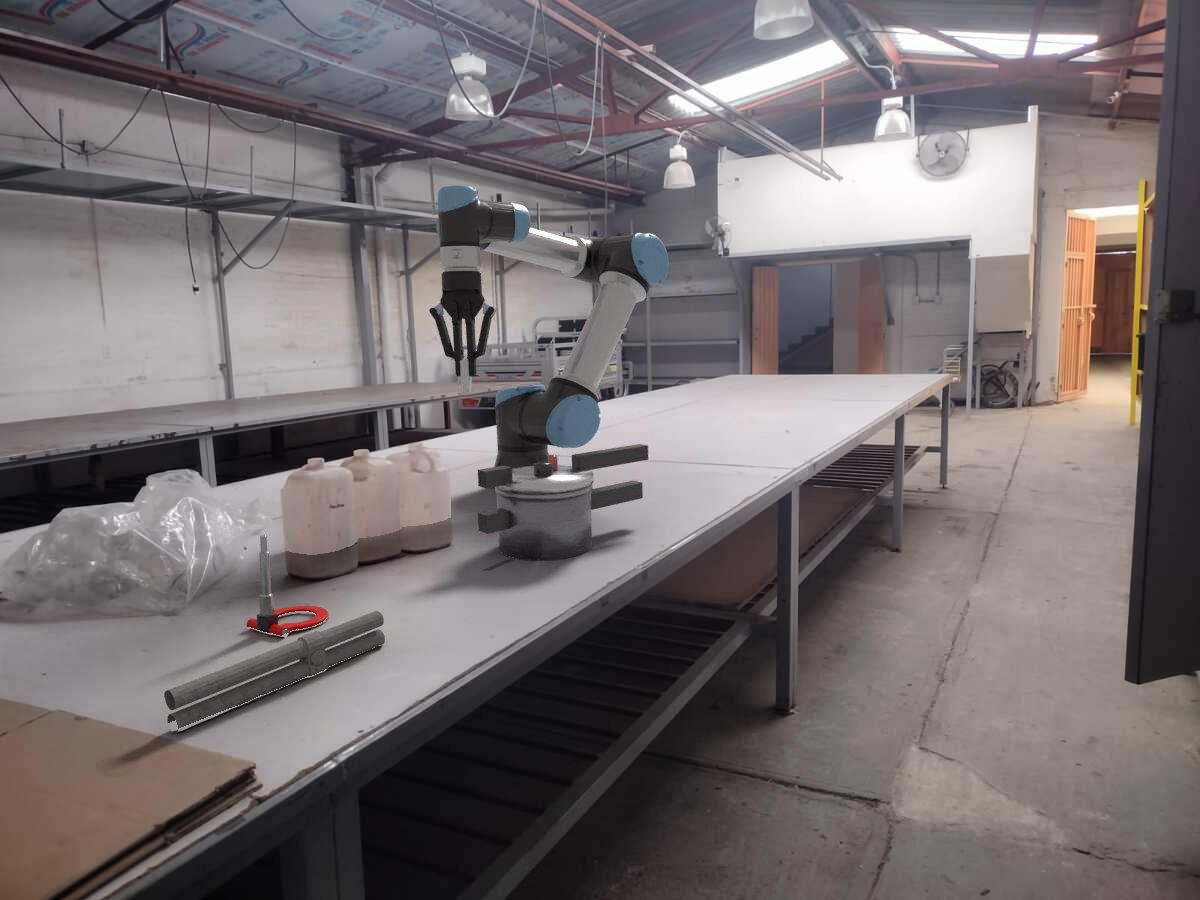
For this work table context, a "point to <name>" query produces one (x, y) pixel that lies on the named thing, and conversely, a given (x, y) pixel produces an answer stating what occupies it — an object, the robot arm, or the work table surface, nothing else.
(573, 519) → the pot
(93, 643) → the work table surface
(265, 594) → the tow hook
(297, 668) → the metal rod assembly
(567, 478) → the lid
